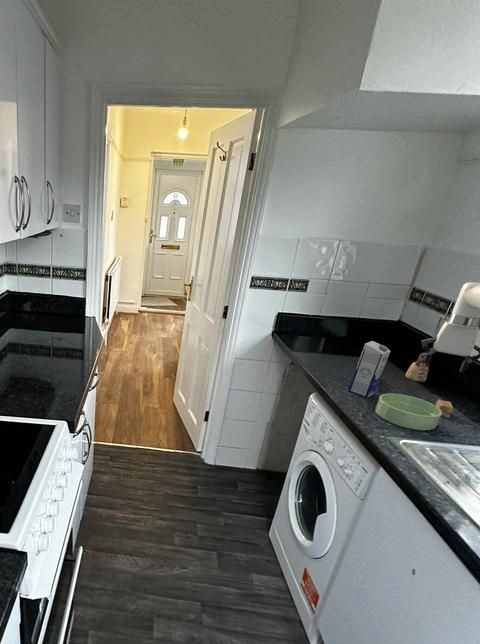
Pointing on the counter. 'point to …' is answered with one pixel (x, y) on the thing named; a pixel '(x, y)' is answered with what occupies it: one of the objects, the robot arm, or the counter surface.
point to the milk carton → (369, 369)
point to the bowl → (408, 411)
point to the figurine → (418, 369)
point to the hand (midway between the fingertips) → (443, 368)
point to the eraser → (445, 407)
